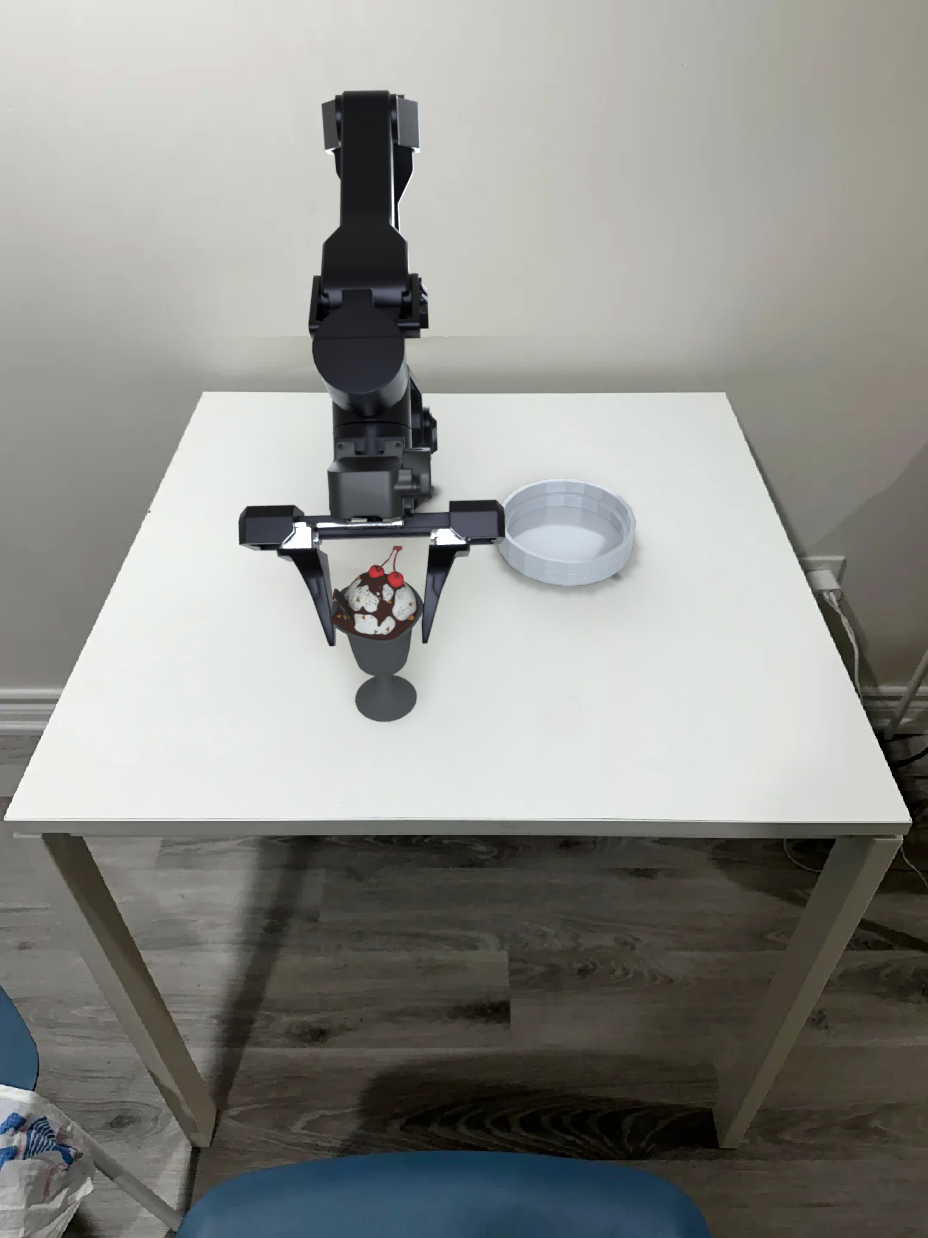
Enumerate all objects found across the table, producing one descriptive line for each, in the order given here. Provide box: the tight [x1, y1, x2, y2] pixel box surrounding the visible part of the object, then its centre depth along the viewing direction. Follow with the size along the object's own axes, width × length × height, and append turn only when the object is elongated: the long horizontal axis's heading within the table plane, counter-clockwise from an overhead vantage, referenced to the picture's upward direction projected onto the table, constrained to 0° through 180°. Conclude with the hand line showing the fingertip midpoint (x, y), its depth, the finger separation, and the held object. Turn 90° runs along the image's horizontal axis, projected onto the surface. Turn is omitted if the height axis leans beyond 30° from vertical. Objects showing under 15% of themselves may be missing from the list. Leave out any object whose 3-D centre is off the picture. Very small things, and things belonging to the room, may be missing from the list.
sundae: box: [330, 545, 424, 723], centre depth 66 cm, size 7×7×15 cm
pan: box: [497, 478, 637, 587], centre depth 92 cm, size 14×14×4 cm
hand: (378, 644), depth 65 cm, fingers closed on sundae, 6 cm apart
